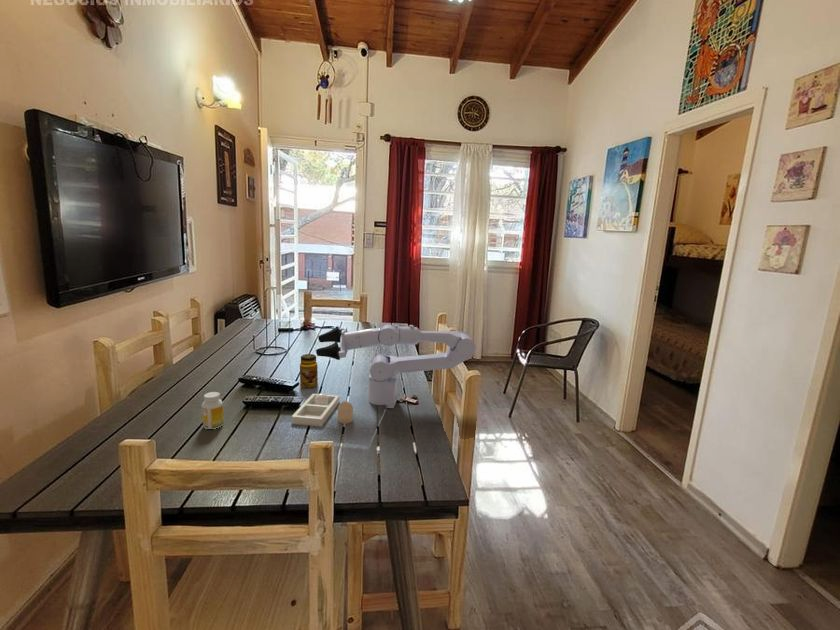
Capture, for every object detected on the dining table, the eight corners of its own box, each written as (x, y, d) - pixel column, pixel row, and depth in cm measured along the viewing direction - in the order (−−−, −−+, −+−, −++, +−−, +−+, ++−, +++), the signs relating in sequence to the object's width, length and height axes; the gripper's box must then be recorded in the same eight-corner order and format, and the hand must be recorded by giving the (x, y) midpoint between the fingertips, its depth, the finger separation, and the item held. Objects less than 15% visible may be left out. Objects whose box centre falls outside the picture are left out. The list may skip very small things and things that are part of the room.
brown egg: (354, 420, 125) (354, 399, 124) (350, 426, 121) (350, 405, 119) (340, 418, 126) (340, 398, 124) (335, 425, 121) (335, 404, 120)
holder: (339, 404, 135) (339, 395, 135) (321, 428, 119) (321, 419, 118) (312, 402, 136) (312, 393, 136) (291, 426, 120) (291, 416, 119)
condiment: (308, 393, 144) (308, 360, 141) (291, 387, 148) (290, 355, 145) (323, 386, 150) (323, 355, 147) (306, 381, 154) (305, 350, 151)
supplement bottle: (199, 430, 115) (197, 398, 113) (207, 421, 120) (205, 390, 118) (220, 430, 116) (217, 398, 114) (226, 421, 121) (225, 390, 119)
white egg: (330, 404, 133) (330, 391, 132) (325, 410, 129) (325, 397, 128) (317, 403, 134) (317, 390, 133) (312, 409, 129) (312, 395, 128)
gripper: (357, 317, 137) (316, 323, 136) (357, 342, 125) (312, 349, 124) (361, 334, 141) (321, 340, 140) (361, 360, 128) (317, 367, 128)
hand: (317, 345), depth 132 cm, fingers open, 7 cm apart
